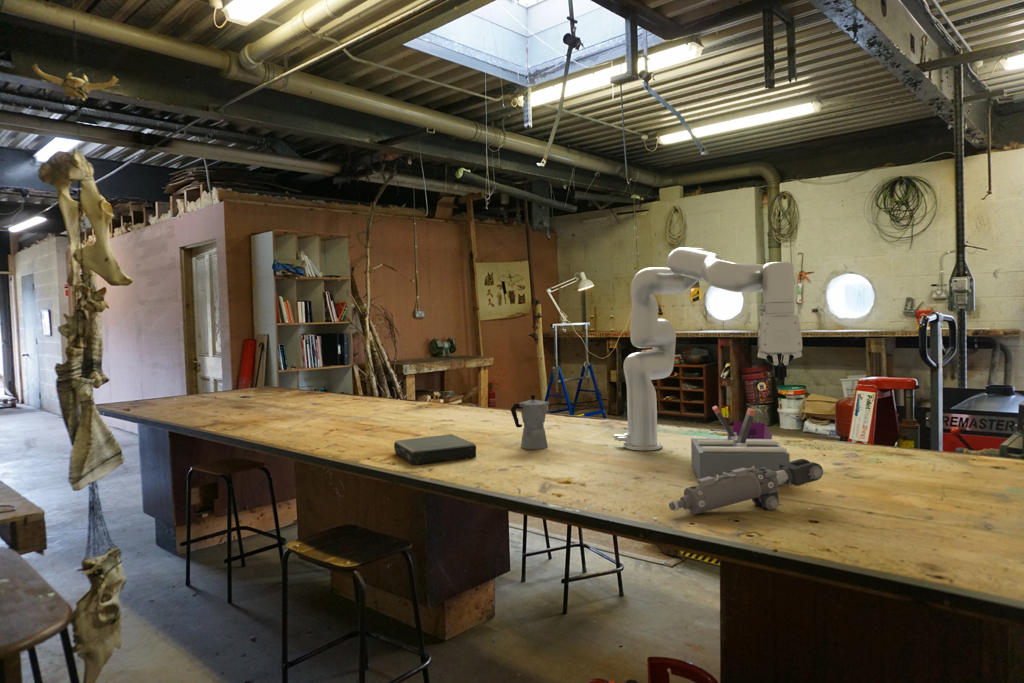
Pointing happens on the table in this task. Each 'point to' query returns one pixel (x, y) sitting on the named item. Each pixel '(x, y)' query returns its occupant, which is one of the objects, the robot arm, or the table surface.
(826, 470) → the table surface
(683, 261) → the robot arm
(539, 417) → the coffeepot
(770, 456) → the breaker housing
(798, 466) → the hydraulic cylinder
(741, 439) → the lever
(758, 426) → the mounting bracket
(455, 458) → the network switch
